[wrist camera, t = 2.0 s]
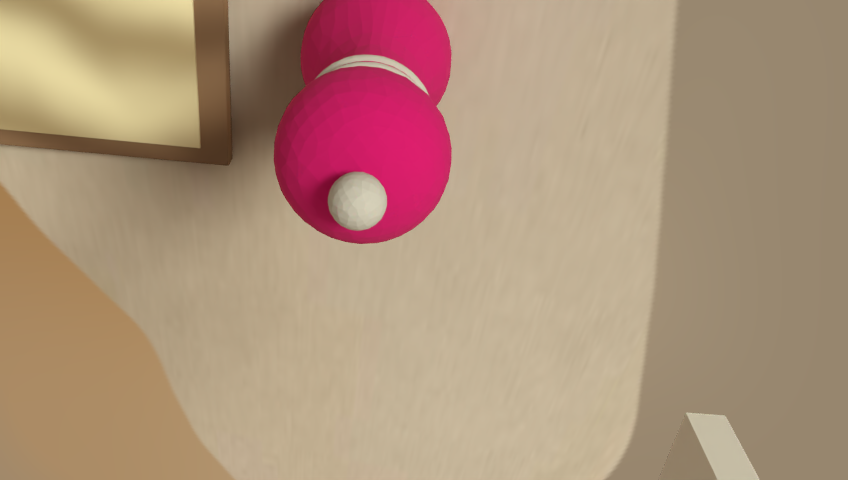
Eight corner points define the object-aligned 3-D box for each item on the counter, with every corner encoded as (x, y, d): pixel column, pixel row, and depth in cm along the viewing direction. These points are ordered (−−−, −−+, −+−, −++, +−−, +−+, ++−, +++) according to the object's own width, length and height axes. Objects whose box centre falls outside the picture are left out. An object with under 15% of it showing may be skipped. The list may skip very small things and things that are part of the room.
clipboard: (-90, -194, 32) (-115, -195, 30) (223, -154, 33) (214, -153, 31) (-17, 134, 40) (-34, 147, 38) (232, 158, 41) (225, 171, 39)
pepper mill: (474, 44, 38) (529, 227, 21) (374, 125, 40) (348, 352, 23) (385, -67, 35) (364, 37, 18) (283, 27, 37) (175, 202, 20)
